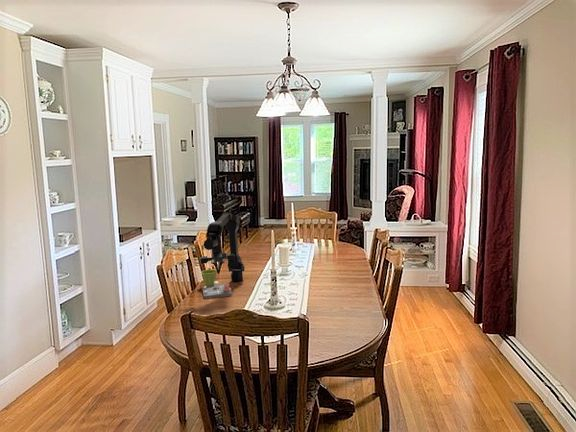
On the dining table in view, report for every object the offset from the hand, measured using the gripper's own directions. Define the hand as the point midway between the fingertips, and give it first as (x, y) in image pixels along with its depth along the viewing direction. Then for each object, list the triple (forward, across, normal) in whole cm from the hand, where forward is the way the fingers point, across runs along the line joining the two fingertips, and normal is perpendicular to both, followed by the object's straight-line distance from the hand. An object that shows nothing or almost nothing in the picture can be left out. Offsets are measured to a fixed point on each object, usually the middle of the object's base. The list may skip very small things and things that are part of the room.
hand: (218, 273), depth 252 cm
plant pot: (+12, -4, +20) cm, 24 cm away
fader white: (+10, -1, +9) cm, 14 cm away
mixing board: (+12, -1, +4) cm, 13 cm away
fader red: (+10, +4, 0) cm, 11 cm away
